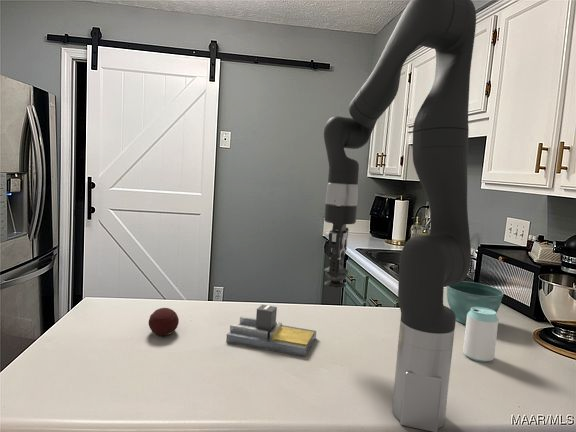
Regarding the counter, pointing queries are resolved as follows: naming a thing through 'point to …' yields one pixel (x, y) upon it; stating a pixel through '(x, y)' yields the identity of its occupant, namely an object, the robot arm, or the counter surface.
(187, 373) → the counter surface
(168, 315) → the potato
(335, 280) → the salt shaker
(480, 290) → the teal bowl
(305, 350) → the board
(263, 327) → the block
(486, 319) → the can
